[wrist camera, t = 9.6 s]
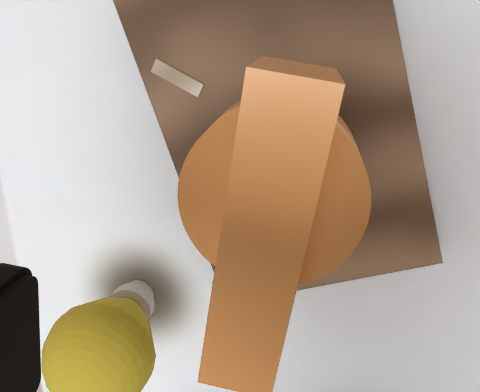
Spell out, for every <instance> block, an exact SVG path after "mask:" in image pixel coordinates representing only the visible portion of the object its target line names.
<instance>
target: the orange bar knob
mask: <svg viewBox="0 0 480 392" xmlns="http://www.w3.org/2000/svg"><path fill="white" fill-rule="evenodd" d="M344 88H345V83H344V81H343V79H342V77H341V76H340V74H339V72H338V70H337V68H331V67H325V66H319V65H313V64H308V63H302V62H296V61H290V60H285V59H279V58H273V57H267V56H261V57H260V58H258V59H257V60H255V61H254V62H252V63H251V64H249V65H248V66H247V67H246V71H245V77H244V84H243V90H242V97H241V100H240V101H238V102H237V103H235V104H234V105H232V106H231V107H230V108H229V109H227V110H226V111H225V112H224V113H223V114H222V115H221V116H220V117H219V118H218V119H217V120H216V121H215V122H214V123H213V124H212V125H211V126H210V127H209V128H208V129H207V130H206V131H205V132H204V134H203V135H202V136H201V137H200V138H199V139H198V140H197V141H196V142H195V144H194V145H193V147H192V148H191V150H190V151H189V153H188V155H187V157H186V159H185V161H184V164H183V167H182V170H181V173H180V177H179V183H178V205H179V211H180V215H181V219H182V222H183V225H184V227H185V230H186V232H187V234H188V235H189V237H190V239H191V241H192V242H193V244H194V245H195V246H196V248H197V249H198V250H199V252H200V253H201V254H202V255H203V256H204V257H205V258H206V259H207V260H208V261H209V262H211V263H212V264H213V265H214V266H215V273H214V279H213V286H212V292H211V299H210V305H209V312H208V318H207V325H206V331H205V338H204V344H203V351H202V357H201V364H200V370H199V377H198V382H199V383H203V384H208V385H212V386H216V387H220V388H225V389H229V390H233V391H237V392H272V391H273V387H274V382H275V378H276V374H277V370H278V366H279V361H280V357H281V353H282V349H283V345H284V340H285V336H286V332H287V328H288V324H289V319H290V315H291V311H292V307H293V303H294V298H295V294H296V290H297V286H298V285H300V284H304V283H307V282H310V281H314V280H316V279H318V278H320V277H322V276H325V275H326V274H328V273H329V272H331V271H333V270H334V269H336V268H337V267H338V266H339V265H341V264H342V263H343V262H344V261H345V260H346V259H347V258H348V257H349V256H350V255H351V254H352V252H353V251H354V250H355V248H356V247H357V246H358V244H359V242H360V240H361V239H362V237H363V235H364V233H365V230H366V227H367V225H368V221H369V216H370V212H371V188H370V183H369V178H368V174H367V172H366V169H365V166H364V164H363V161H362V158H361V156H360V153H359V150H358V148H357V145H356V142H355V140H354V137H353V135H352V133H351V131H350V130H349V128H348V126H347V125H346V123H345V122H344V121H343V119H342V118H341V117H340V116H339V115H338V113H339V109H340V105H341V101H342V97H343V92H344Z"/></svg>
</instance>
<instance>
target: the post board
mask: <svg viewBox="0 0 480 392" xmlns="http://www.w3.org/2000/svg"><path fill="white" fill-rule="evenodd" d="M113 1H114V4H115V7H116V9H117V12H118V15H119V18H120V20H121V23H122V26H123V28H124V31H125V34H126V36H127V39H128V42H129V44H130V47H131V50H132V53H133V55H134V58H135V61H136V63H137V66H138V69H139V71H140V74H141V77H142V79H143V82H144V85H145V88H146V90H147V93H148V96H149V98H150V101H151V104H152V106H153V109H154V112H155V114H156V117H157V120H158V123H159V125H160V128H161V131H162V133H163V136H164V139H165V141H166V144H167V147H168V149H169V152H170V155H171V158H172V160H173V163H174V166H175V168H176V171H177V174H178V176H179V177H180V173H181V170H182V167H183V164H184V161H185V159H186V157H187V155H188V153H189V151H190V150H191V148H192V147H193V145H194V144H195V142H196V141H197V140H198V139H199V138H200V137H201V136H202V135H203V134H204V132H205V131H206V130H207V129H208V128H209V127H210V126H211V125H212V124H213V123H214V122H215V121H216V120H217V119H218V118H219V117H220V116H221V115H222V114H223V113H224V112H225V111H226V110H227V109H229V108H230V107H231V106H232V105H234V104H235V103H237V102H238V101H240V100H241V97H242V90H243V84H244V77H245V71H246V67H247V66H248V65H249V64H251V63H252V62H254V61H255V60H257V59H258V58H260V57H261V56H267V57H273V58H279V59H285V60H290V61H296V62H302V63H308V64H313V65H319V66H325V67H331V68H337V70H338V72H339V74H340V76H341V77H342V79H343V81H344V83H345V88H344V92H343V97H342V101H341V105H340V109H339V113H338V115H339V116H340V117H341V118H342V119H343V121H344V122H345V123H346V125H347V126H348V128H349V130H350V131H351V133H352V135H353V137H354V140H355V142H356V145H357V148H358V150H359V153H360V156H361V158H362V161H363V164H364V166H365V169H366V172H367V174H368V178H369V183H370V188H371V212H370V216H369V221H368V225H367V227H366V230H365V233H364V235H363V237H362V239H361V240H360V242H359V244H358V246H357V247H356V248H355V250H354V251H353V252H352V254H351V255H350V256H349V257H348V258H347V259H346V260H345V261H344V262H343V263H342V264H341V265H339V266H338V267H337V268H336V269H334V270H333V271H331V272H329V273H328V274H326V275H325V276H322V277H320V278H318V279H316V280H314V281H310V282H307V283H304V284H300V285H298V286H297V290H301V289H307V288H312V287H317V286H323V285H328V284H333V283H339V282H344V281H349V280H354V279H360V278H365V277H370V276H376V275H381V274H386V273H392V272H397V271H402V270H408V269H413V268H418V267H423V266H429V265H434V264H439V263H443V262H442V257H441V251H440V246H439V241H438V236H437V231H436V225H435V220H434V215H433V210H432V204H431V199H430V194H429V189H428V183H427V178H426V173H425V168H424V163H423V157H422V152H421V147H420V142H419V136H418V131H417V126H416V121H415V115H414V110H413V105H412V100H411V94H410V89H409V84H408V79H407V74H406V68H405V63H404V58H403V53H402V47H401V42H400V37H399V32H398V26H397V21H396V16H395V11H394V5H393V0H113ZM211 265H212V268H213V271H214V273H215V266H214V265H213V264H212V263H211Z"/></svg>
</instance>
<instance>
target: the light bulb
mask: <svg viewBox="0 0 480 392" xmlns="http://www.w3.org/2000/svg"><path fill="white" fill-rule="evenodd" d="M154 308H155V303H154V292H153V290H152V288H151V287H150V286H149V285H148V284H147V283H145V282H144V281H140V280H133V281H130V282H128V283H127V284H123V285H120V286H119V287H118V288H116V289H115V291H114V292H113V293H112V295H111V296H110V298H103V299H100V300H96V301H93V302H89V303H85V304H82V305H79V306H76V307H73V308H71V309H70V310H68V311H67V312H66V313H65V314H64V315H62V316H61V317H60V318H59V319H58V320H57V321H56V322H55V324H54V325H53V327H52V328H51V330H50V332H49V334H48V336H47V338H46V341H45V343H44V345H43V350H42V364H41V365H42V373H43V377H44V380H45V383H46V386H47V388H48V389H49V391H50V392H141V390H142V389H143V387H144V386H145V384H146V383H147V381H148V380H149V378H150V376H151V374H152V371H153V368H154V363H155V357H156V355H155V349H154V344H153V338H152V333H151V328H150V324H149V322H148V321H149V319H150V317H151V315H152V314H153V312H154Z"/></svg>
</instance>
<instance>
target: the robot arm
mask: <svg viewBox="0 0 480 392" xmlns="http://www.w3.org/2000/svg"><path fill="white" fill-rule="evenodd" d="M40 380H41V361H40V329H39V298H38V280H37V278H36V277H34V276H32V273H31V271H30V269H28V268H25V267H20V266H15V265H10V264H5V263H0V392H36V391H37V389H38V387H39V384H40Z"/></svg>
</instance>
